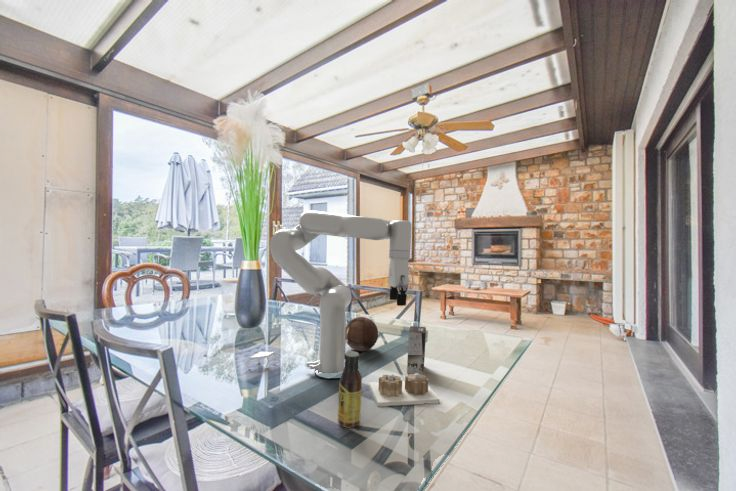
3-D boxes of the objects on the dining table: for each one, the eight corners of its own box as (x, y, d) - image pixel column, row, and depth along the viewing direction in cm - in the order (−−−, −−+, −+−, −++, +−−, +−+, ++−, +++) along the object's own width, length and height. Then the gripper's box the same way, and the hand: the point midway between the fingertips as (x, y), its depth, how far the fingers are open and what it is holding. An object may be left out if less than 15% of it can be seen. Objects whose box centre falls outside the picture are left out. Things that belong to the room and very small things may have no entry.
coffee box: (423, 375, 129) (425, 333, 129) (406, 373, 131) (408, 331, 130) (424, 366, 138) (426, 326, 138) (408, 364, 140) (410, 325, 139)
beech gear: (381, 397, 108) (382, 384, 108) (376, 387, 115) (377, 374, 115) (404, 396, 109) (404, 383, 109) (397, 386, 117) (398, 373, 117)
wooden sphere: (376, 345, 161) (377, 313, 161) (378, 356, 146) (380, 322, 146) (344, 344, 161) (345, 312, 160) (343, 356, 146) (344, 321, 145)
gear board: (377, 406, 105) (378, 385, 105) (369, 385, 119) (369, 366, 118) (439, 402, 109) (440, 382, 108) (423, 383, 122) (424, 364, 122)
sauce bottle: (337, 416, 98) (340, 348, 97) (359, 416, 99) (362, 348, 98) (337, 430, 92) (340, 357, 91) (360, 429, 92) (363, 357, 91)
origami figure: (264, 359, 138) (265, 347, 138) (279, 364, 134) (279, 352, 134) (239, 369, 128) (239, 356, 128) (254, 375, 124) (254, 361, 124)
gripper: (383, 252, 130) (381, 297, 131) (396, 256, 113) (393, 307, 114) (402, 253, 132) (400, 297, 132) (417, 257, 115) (415, 307, 116)
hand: (397, 302), depth 123 cm, fingers open, 9 cm apart
